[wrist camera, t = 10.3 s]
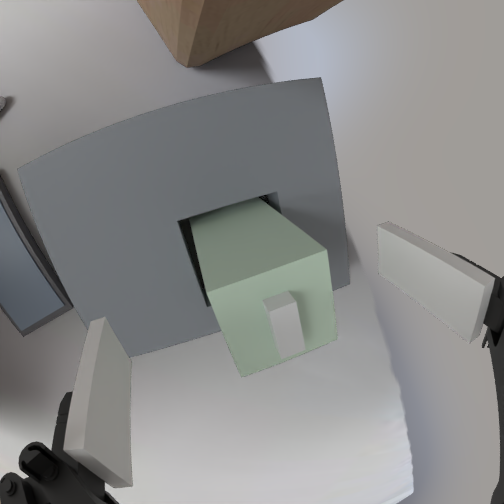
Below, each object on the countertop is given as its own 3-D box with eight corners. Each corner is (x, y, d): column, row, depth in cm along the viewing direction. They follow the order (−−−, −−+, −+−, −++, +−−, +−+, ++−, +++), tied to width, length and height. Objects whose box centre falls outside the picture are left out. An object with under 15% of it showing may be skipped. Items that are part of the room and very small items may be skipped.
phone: (26, 331, 18) (22, 337, 17) (-47, 215, 13) (-53, 218, 12) (75, 302, 18) (72, 308, 18) (-3, 169, 14) (-9, 171, 13)
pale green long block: (210, 278, 20) (245, 390, 11) (189, 218, 19) (209, 304, 9) (271, 257, 21) (346, 349, 12) (256, 196, 19) (337, 258, 10)
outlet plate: (112, 342, 20) (108, 363, 18) (33, 164, 14) (17, 168, 12) (334, 270, 23) (349, 284, 21) (304, 82, 17) (321, 77, 15)
